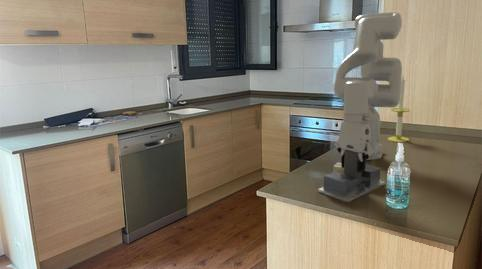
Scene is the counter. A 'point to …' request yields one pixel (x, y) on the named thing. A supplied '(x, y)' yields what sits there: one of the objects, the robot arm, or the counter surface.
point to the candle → (400, 116)
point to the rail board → (351, 184)
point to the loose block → (338, 168)
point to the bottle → (351, 164)
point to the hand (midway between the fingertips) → (352, 168)
